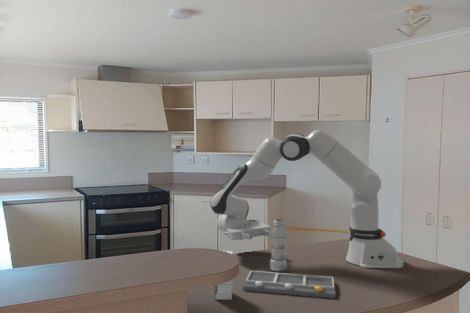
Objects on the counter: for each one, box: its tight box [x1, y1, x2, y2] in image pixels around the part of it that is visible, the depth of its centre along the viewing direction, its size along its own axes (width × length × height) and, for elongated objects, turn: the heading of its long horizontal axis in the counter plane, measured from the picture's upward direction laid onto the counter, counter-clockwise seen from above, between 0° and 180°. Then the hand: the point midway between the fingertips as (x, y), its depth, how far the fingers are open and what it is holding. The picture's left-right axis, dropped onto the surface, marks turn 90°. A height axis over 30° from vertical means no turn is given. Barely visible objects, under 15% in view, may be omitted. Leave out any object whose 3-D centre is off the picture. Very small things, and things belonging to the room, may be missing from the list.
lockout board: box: [242, 270, 336, 299], centre depth 137 cm, size 30×14×3 cm, turn 78°
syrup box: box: [213, 250, 234, 301], centre depth 128 cm, size 6×6×14 cm
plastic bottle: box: [269, 218, 288, 273], centre depth 152 cm, size 6×7×20 cm
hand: (259, 235), depth 162 cm, fingers open, 8 cm apart
